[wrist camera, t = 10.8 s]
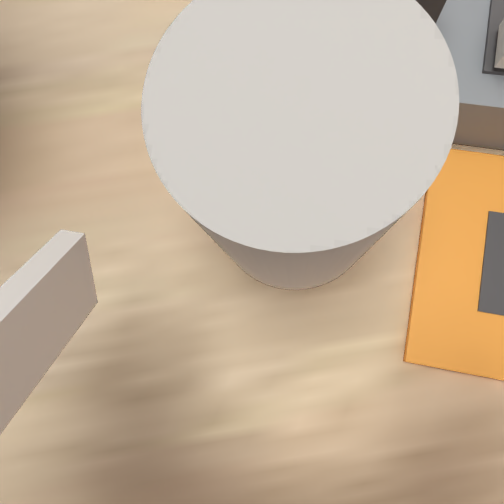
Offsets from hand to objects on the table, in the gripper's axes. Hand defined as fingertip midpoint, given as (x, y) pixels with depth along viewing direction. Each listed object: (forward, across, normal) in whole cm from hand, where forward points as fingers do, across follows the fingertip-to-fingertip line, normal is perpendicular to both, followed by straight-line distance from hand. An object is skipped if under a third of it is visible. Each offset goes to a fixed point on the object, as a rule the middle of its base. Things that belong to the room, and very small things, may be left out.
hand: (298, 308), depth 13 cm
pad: (+10, +11, -4) cm, 15 cm away
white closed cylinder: (+11, -1, -3) cm, 11 cm away
